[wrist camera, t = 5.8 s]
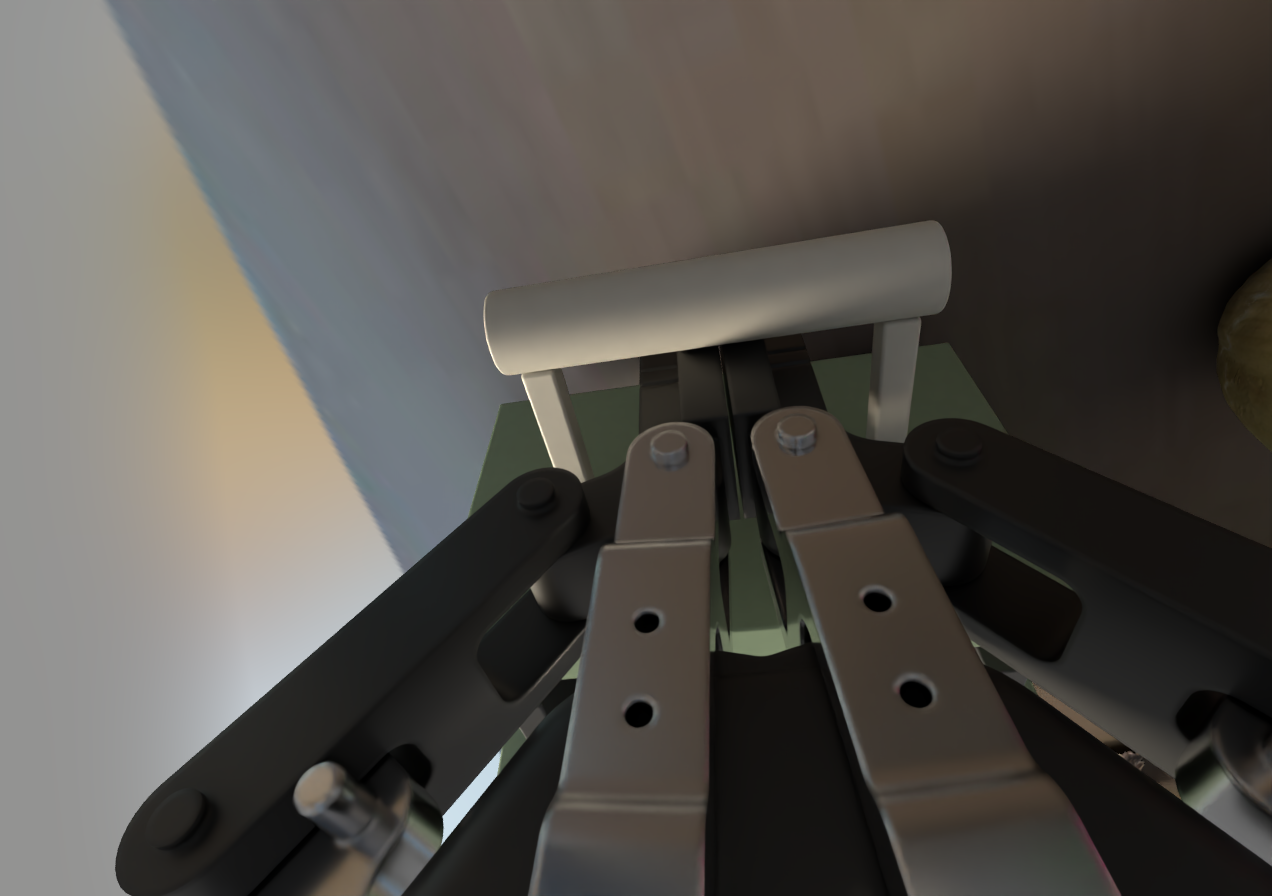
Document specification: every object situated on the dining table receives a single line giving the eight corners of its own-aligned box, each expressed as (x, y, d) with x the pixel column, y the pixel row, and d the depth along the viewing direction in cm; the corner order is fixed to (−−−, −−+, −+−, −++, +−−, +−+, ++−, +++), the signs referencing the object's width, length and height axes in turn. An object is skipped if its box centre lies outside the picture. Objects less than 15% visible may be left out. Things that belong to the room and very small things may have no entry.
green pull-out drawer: (421, 207, 14) (262, 434, 8) (987, 105, 13) (1275, 293, 7) (607, 673, 27) (595, 890, 21) (899, 650, 26) (973, 876, 20)
